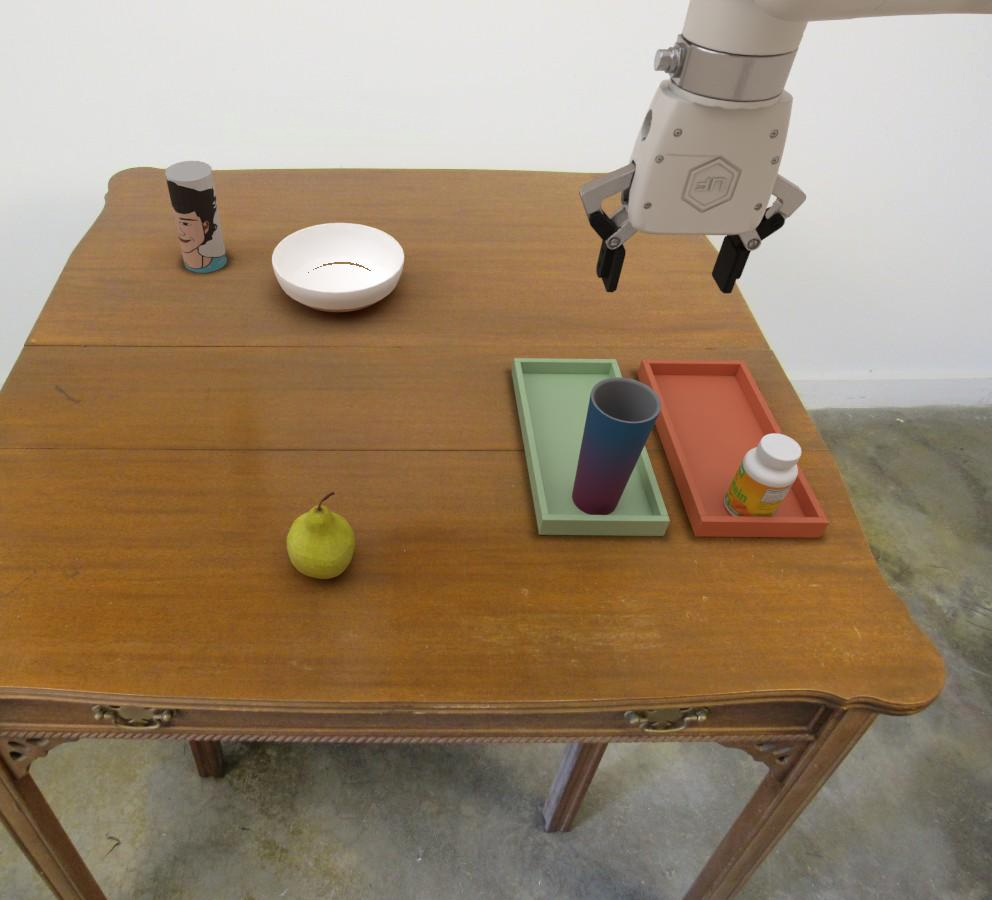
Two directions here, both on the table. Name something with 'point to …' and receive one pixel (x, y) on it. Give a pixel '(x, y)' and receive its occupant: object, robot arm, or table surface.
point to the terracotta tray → (721, 446)
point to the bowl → (338, 266)
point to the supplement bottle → (764, 477)
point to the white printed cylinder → (196, 215)
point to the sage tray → (575, 450)
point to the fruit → (320, 543)
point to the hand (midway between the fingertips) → (664, 284)
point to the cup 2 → (612, 441)
